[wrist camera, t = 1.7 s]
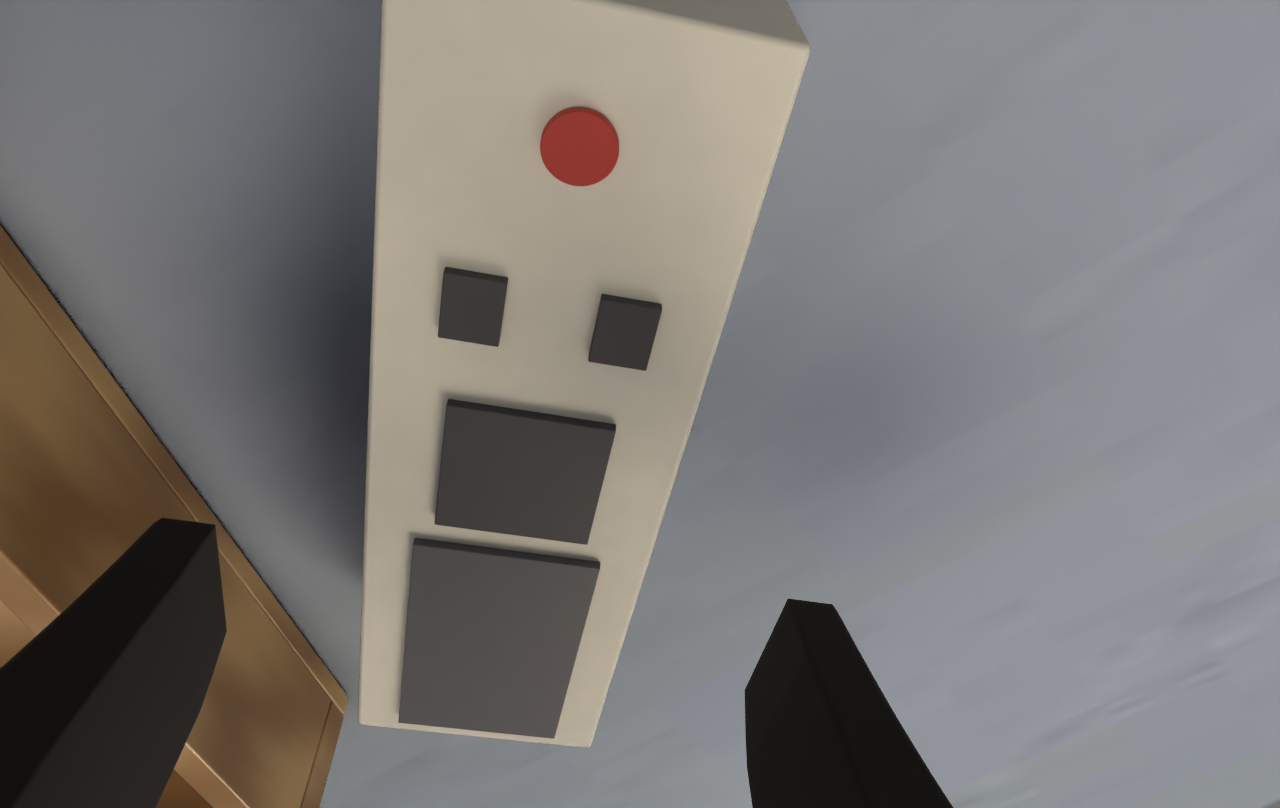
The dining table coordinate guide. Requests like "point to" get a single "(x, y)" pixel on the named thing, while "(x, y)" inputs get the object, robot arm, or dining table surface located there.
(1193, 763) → the dining table surface
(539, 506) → the remote
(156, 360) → the dining table surface
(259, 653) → the tidy box
